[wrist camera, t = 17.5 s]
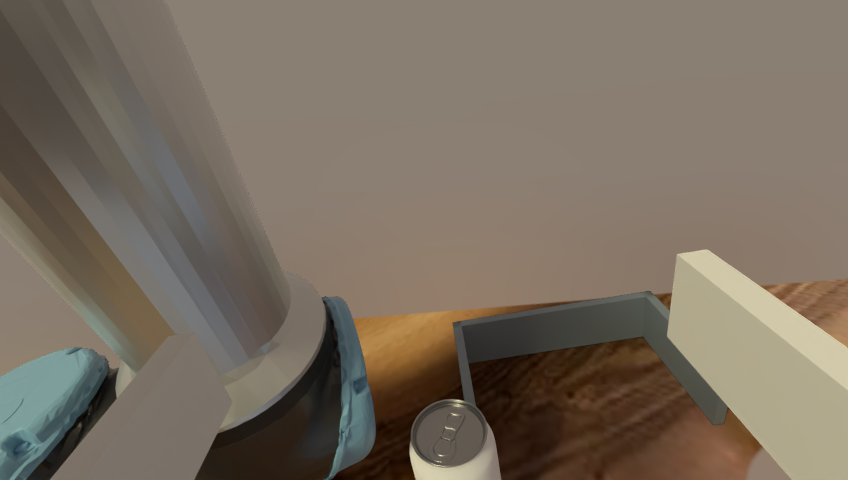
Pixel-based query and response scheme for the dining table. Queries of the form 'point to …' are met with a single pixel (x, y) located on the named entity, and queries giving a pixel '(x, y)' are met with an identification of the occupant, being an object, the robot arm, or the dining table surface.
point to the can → (453, 443)
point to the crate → (582, 339)
